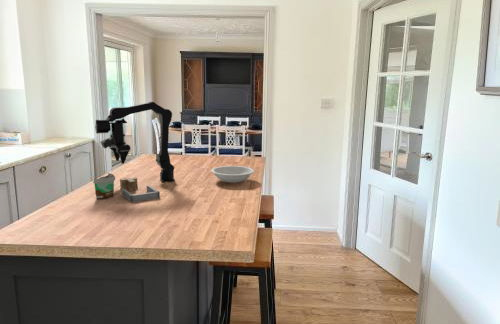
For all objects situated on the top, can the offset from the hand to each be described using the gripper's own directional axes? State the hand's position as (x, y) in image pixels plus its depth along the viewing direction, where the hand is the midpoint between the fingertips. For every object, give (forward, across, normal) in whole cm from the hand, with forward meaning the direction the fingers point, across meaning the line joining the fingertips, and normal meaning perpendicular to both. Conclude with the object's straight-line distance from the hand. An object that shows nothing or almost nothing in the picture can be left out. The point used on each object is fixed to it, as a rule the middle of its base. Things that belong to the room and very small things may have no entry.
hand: (120, 162), depth 190 cm
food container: (+12, +18, -12) cm, 25 cm away
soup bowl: (+14, +24, +54) cm, 61 cm away
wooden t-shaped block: (+13, +10, +1) cm, 16 cm away
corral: (+13, +25, +1) cm, 28 cm away
